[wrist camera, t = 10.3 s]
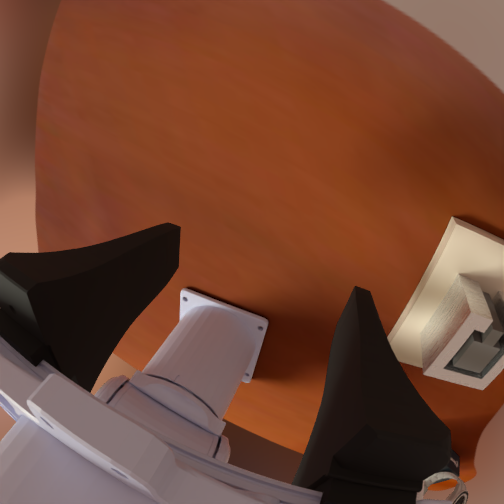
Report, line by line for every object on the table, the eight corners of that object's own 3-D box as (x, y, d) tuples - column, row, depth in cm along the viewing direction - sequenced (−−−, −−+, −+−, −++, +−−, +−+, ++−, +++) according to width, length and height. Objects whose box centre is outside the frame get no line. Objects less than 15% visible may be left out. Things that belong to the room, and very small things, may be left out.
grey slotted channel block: (475, 351, 20) (482, 390, 16) (420, 333, 21) (423, 374, 17) (515, 297, 17) (531, 335, 13) (458, 273, 18) (471, 312, 14)
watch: (472, 452, 27) (470, 525, 19) (420, 468, 32) (411, 536, 23) (460, 438, 27) (458, 519, 18) (404, 456, 31) (393, 531, 22)
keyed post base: (466, 370, 22) (472, 417, 18) (381, 345, 24) (378, 396, 20) (543, 260, 16) (571, 303, 11) (452, 216, 17) (473, 257, 13)
